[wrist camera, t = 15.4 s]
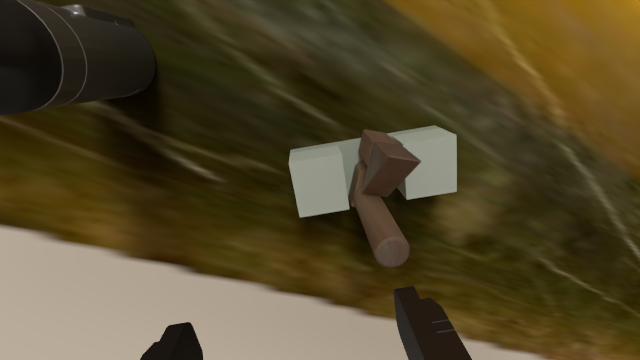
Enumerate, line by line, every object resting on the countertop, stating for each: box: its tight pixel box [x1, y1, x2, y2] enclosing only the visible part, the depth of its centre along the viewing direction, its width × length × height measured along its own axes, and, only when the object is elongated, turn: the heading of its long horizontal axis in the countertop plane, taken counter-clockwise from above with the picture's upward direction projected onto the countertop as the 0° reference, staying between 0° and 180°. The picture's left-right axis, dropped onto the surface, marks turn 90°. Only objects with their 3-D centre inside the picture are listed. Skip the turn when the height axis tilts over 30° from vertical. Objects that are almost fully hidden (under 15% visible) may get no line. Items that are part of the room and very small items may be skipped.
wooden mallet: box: [348, 130, 421, 267], centre depth 38 cm, size 4×11×18 cm, turn 170°
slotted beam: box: [289, 126, 457, 218], centre depth 45 cm, size 8×22×7 cm, turn 99°
